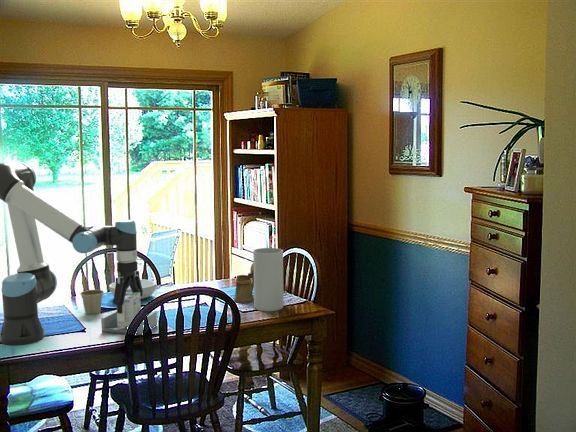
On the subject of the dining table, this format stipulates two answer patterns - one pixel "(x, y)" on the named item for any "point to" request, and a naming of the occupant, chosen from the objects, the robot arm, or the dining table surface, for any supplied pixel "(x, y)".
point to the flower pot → (92, 301)
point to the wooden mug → (245, 287)
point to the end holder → (111, 326)
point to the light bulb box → (130, 307)
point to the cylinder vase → (268, 279)
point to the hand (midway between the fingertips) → (129, 316)
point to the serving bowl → (147, 288)
